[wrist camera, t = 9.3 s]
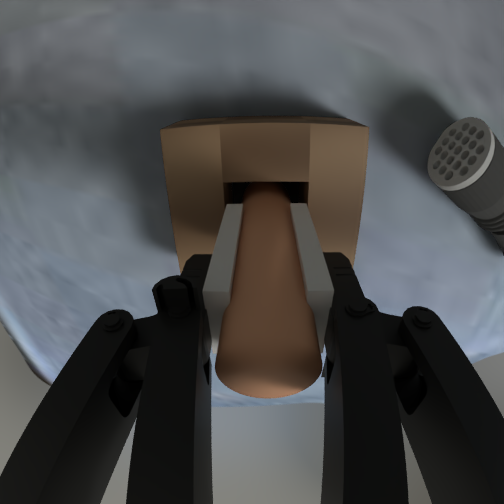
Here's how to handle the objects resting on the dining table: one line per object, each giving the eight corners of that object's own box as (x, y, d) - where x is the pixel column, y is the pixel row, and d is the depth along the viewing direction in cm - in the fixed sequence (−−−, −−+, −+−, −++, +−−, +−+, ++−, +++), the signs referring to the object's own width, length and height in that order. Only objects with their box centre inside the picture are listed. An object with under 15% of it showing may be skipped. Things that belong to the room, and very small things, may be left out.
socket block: (180, 120, 17) (159, 129, 13) (347, 118, 16) (369, 127, 13) (196, 261, 22) (185, 296, 18) (335, 260, 21) (347, 295, 18)
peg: (240, 178, 17) (206, 336, 7) (289, 177, 17) (328, 332, 7) (244, 222, 18) (222, 397, 8) (290, 220, 18) (317, 395, 8)
